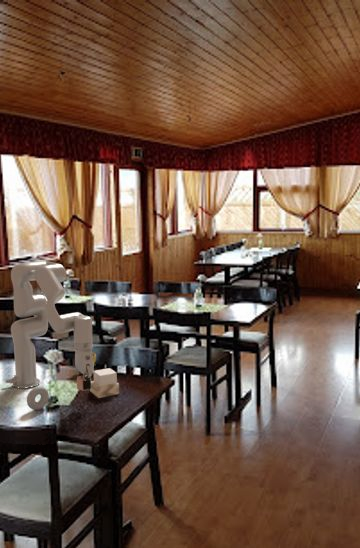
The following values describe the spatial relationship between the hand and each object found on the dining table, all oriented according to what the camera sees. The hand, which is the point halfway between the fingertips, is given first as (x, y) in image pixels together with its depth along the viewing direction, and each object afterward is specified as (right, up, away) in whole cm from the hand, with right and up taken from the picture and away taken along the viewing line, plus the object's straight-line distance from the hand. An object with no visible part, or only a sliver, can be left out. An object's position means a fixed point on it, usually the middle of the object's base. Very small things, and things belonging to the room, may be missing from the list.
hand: (84, 386), depth 232 cm
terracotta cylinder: (0, -1, 0) cm, 1 cm away
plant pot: (-7, -3, +45) cm, 45 cm away
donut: (-19, -10, -1) cm, 21 cm away
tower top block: (+7, -2, +18) cm, 19 cm away
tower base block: (+6, -7, +18) cm, 20 cm away
